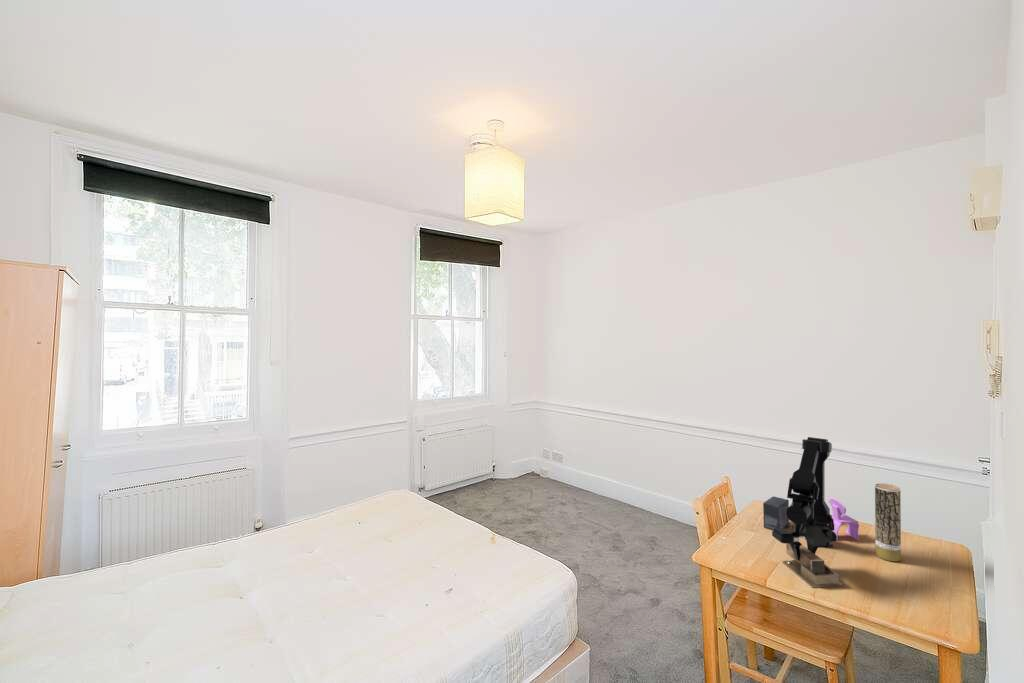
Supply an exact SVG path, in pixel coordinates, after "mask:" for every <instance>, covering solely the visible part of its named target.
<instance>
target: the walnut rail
mask: <svg viewBox="0 0 1024 683" xmlns="http://www.w3.org/2000/svg"><path fill="white" fill-rule="evenodd" d="M785 544H786V555H788V556H789V557H790V558H792V559H793V561H797V562H798V563H799V564H804V565H805V566H806V567H807V568H809V569H810V570H811V571H812V572H814V573H824V564H825V560H824V559H823V558H821V557H820V556H818V555H816V553H815V554H814V553H813V552H811V551H810V550H808V548H807V546H806V547H805V546H804V545H801V546H800V560H797V559H796V557H795V555H794V553H793V550H792V548H791V546H790V544H789V543H785Z"/></svg>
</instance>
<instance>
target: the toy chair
mask: <svg viewBox="0 0 1024 683" xmlns="http://www.w3.org/2000/svg"><path fill="white" fill-rule="evenodd" d="M828 503H829V505H830V506H831V510H832V514H831V515H832V519H833V520H834V530H833V532H835V533H836V535H837V542H838V541H839V537H838V535H839V534H838V533H839V529H840V527H841V526H842V525H848V526H847V530H846V531H845V534H846V535H848V536H850V537H851V538H853V539H855V540H856V541H859V538H860V537H859V527H860V524H859V521H858V520H856V519H854V518H853V517H851V516H849V515H848V514H846V511H847V508H846V506H845V505H844V504H843V503H842V502H841V501H840V500H838V499H837V498H834V497H830V498H829V499H828Z"/></svg>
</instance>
